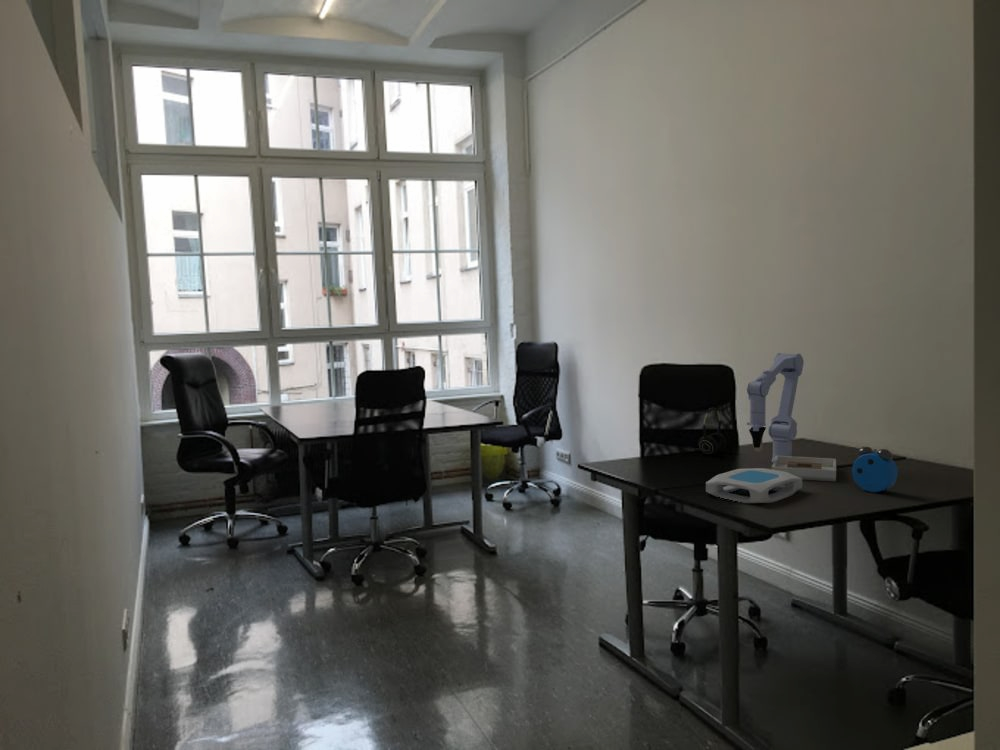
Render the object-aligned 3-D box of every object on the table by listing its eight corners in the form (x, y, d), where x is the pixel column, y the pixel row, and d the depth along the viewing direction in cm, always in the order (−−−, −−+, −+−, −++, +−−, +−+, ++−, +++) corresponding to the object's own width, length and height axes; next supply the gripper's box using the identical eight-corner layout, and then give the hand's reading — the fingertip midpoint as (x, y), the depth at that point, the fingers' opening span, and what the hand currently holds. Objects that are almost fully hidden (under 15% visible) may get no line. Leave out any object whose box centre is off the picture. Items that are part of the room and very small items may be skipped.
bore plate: (788, 466, 306) (788, 461, 306) (821, 468, 301) (821, 463, 301) (786, 472, 295) (786, 467, 295) (821, 474, 290) (821, 469, 290)
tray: (775, 465, 312) (775, 455, 312) (835, 468, 304) (835, 458, 303) (771, 477, 292) (771, 466, 292) (835, 481, 284) (836, 470, 283)
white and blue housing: (803, 491, 271) (803, 474, 271) (760, 507, 253) (760, 488, 252) (748, 482, 287) (748, 465, 286) (704, 496, 268) (704, 478, 268)
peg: (753, 449, 309) (753, 431, 308) (762, 450, 307) (762, 432, 307) (752, 451, 306) (752, 433, 305) (761, 451, 304) (761, 433, 303)
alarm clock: (897, 493, 266) (899, 449, 264) (889, 496, 262) (890, 451, 260) (860, 486, 276) (861, 444, 275) (851, 489, 272) (851, 446, 271)
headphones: (694, 455, 337) (694, 408, 335) (711, 449, 348) (711, 404, 346) (713, 457, 331) (713, 410, 329) (729, 451, 342) (729, 406, 340)
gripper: (748, 409, 313) (748, 442, 315) (744, 414, 300) (744, 449, 301) (767, 409, 310) (767, 443, 312) (764, 414, 297) (764, 450, 299)
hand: (757, 446), depth 306 cm, fingers closed on peg, 4 cm apart
